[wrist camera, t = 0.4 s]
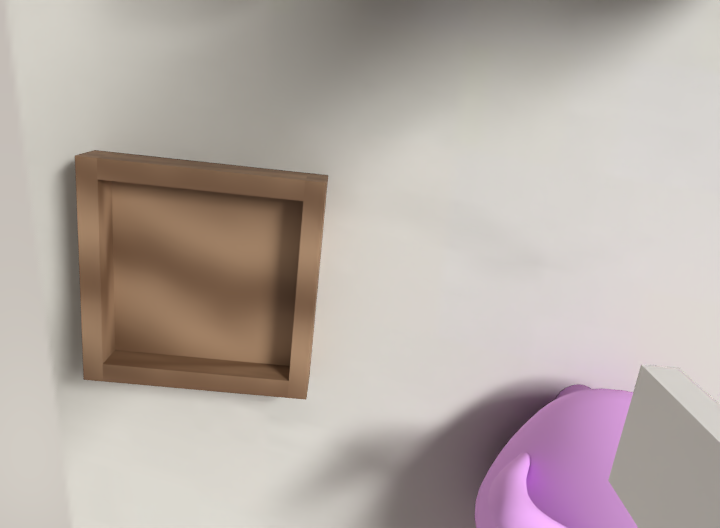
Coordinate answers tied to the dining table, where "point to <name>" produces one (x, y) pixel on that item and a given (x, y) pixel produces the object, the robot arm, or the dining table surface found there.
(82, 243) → the walnut tray
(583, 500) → the teapot
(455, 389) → the dining table surface
